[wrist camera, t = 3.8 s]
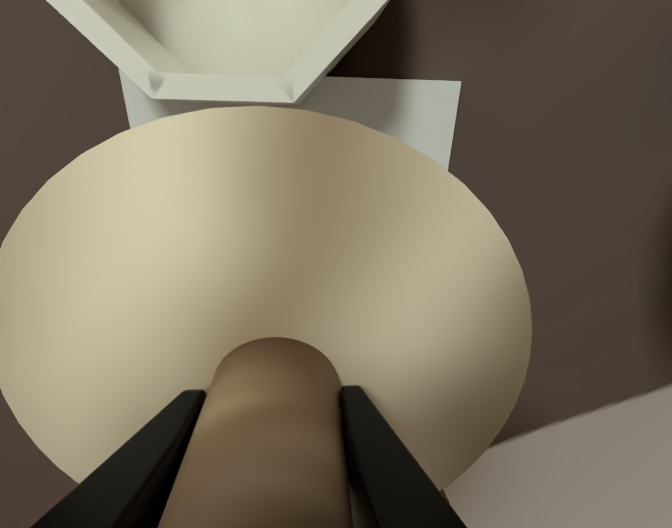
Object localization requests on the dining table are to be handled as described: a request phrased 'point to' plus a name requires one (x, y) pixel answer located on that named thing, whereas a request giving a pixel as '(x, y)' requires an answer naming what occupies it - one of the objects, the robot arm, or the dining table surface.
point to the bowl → (224, 44)
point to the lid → (260, 309)
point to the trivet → (346, 108)
